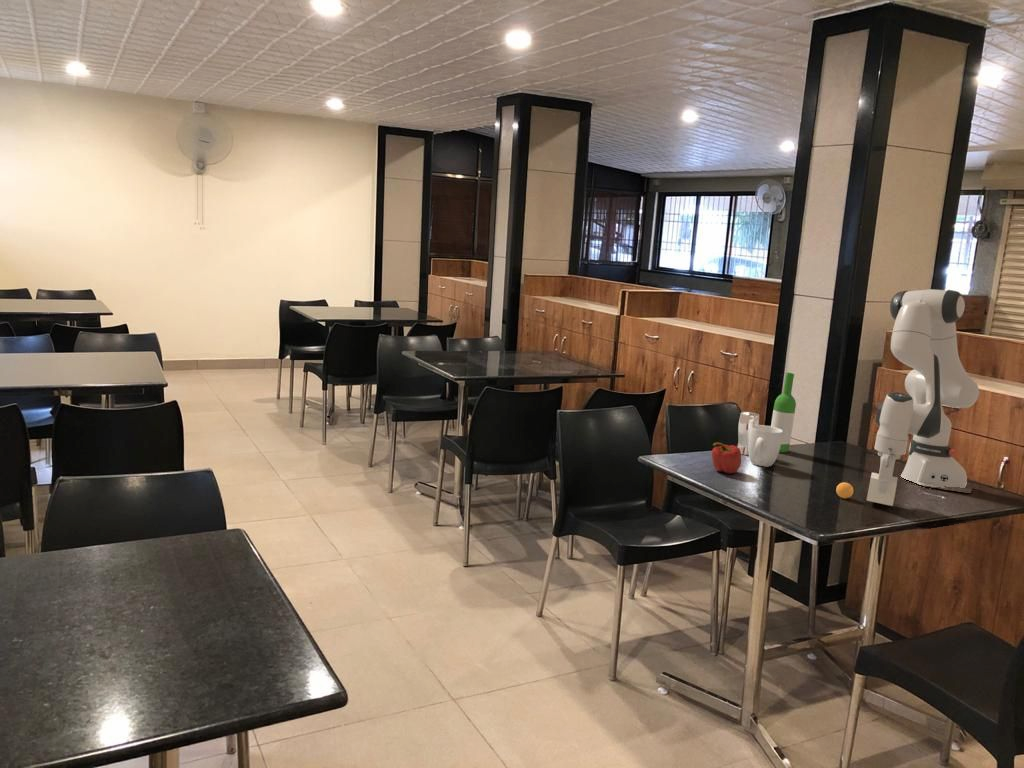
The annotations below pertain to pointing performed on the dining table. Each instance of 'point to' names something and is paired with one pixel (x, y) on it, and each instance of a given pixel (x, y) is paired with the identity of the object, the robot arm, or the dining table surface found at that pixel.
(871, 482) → the white cube
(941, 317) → the robot arm
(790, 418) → the wine bottle
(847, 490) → the ball
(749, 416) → the beer glass
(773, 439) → the mug
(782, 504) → the dining table surface
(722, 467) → the vegetable
